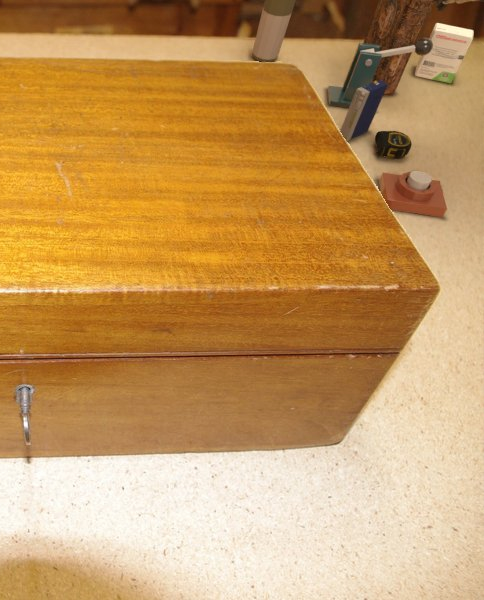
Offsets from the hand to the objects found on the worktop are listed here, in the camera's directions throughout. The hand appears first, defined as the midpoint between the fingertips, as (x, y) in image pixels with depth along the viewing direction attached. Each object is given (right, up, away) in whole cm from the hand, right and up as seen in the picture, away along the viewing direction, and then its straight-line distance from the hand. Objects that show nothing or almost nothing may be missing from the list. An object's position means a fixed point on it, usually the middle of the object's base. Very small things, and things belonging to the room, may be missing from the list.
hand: (463, 8), depth 133 cm
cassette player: (-11, -19, +21) cm, 31 cm away
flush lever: (-2, -2, +22) cm, 22 cm away
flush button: (-7, -33, +4) cm, 34 cm away
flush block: (-7, -35, +6) cm, 36 cm away
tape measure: (-6, -24, +17) cm, 30 cm away
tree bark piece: (+2, -1, +38) cm, 38 cm away
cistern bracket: (-8, -9, +31) cm, 33 cm away
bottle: (-24, +5, +44) cm, 50 cm away
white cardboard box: (+17, 0, +39) cm, 43 cm away
